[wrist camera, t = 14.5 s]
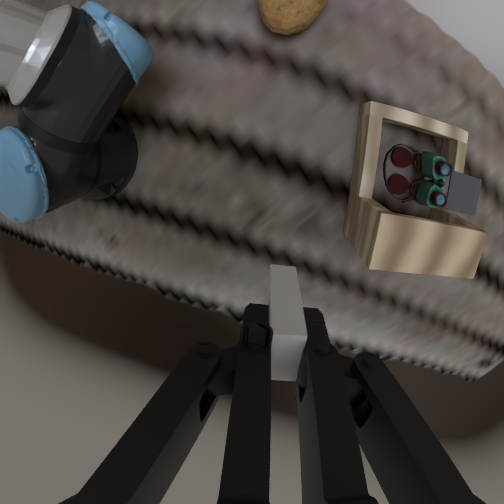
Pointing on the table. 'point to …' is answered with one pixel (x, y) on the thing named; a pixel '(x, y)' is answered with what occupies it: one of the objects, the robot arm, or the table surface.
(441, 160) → the binoculars
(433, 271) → the tunnel
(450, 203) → the mat
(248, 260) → the table surface
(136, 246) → the table surface
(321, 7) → the potato
